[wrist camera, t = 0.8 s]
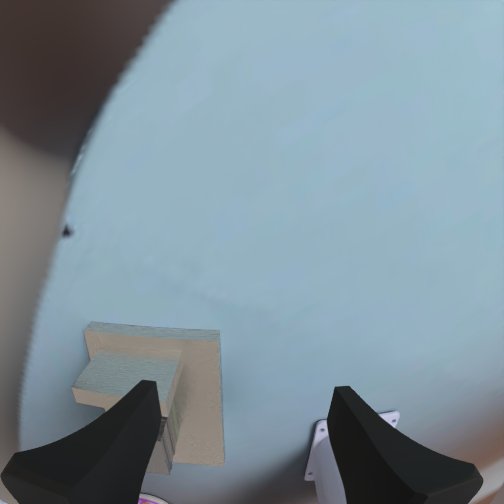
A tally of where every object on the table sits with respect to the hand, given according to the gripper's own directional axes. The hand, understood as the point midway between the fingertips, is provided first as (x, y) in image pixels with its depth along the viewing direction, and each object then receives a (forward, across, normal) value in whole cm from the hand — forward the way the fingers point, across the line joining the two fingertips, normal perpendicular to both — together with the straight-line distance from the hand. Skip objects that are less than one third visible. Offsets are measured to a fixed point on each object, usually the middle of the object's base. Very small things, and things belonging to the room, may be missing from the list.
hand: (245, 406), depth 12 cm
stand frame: (+10, +7, +9) cm, 15 cm away
